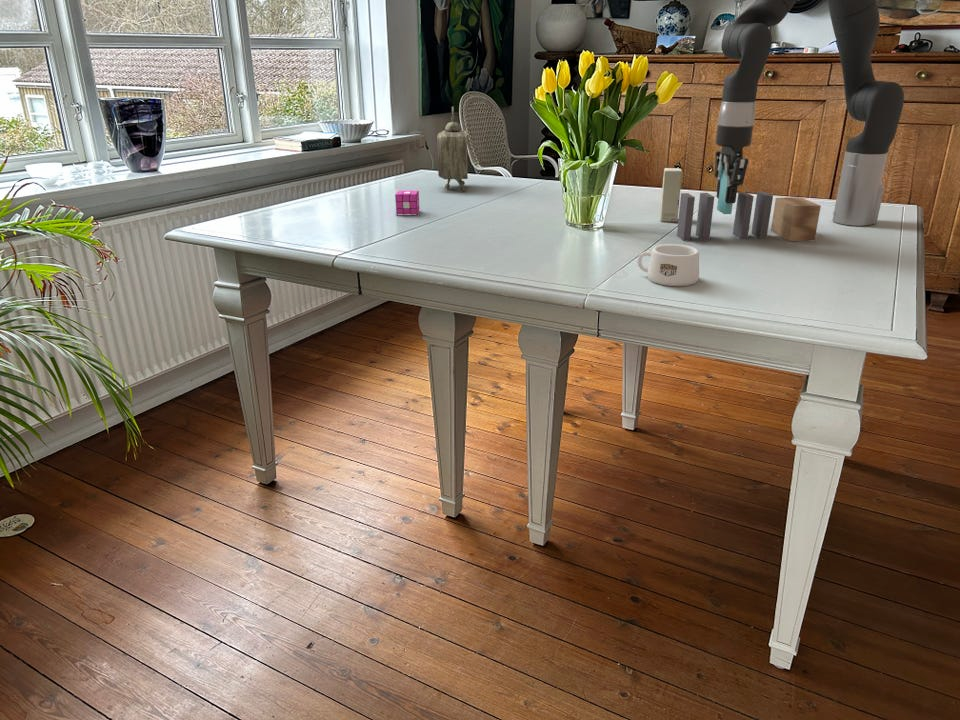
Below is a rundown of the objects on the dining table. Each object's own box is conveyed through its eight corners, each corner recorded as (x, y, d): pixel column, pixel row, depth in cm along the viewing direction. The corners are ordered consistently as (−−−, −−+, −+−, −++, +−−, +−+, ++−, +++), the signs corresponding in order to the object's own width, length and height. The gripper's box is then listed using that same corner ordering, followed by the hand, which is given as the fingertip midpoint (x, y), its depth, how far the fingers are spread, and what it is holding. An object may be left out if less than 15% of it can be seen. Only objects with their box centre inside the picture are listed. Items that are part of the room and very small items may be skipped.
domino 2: (702, 235, 170) (706, 192, 166) (709, 240, 165) (714, 196, 161) (695, 235, 170) (700, 192, 166) (702, 240, 165) (707, 197, 161)
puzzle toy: (417, 215, 193) (416, 194, 191) (396, 215, 193) (395, 194, 191) (419, 211, 198) (418, 190, 196) (399, 211, 199) (398, 190, 196)
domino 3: (723, 209, 168) (729, 165, 164) (731, 214, 163) (737, 169, 159) (716, 209, 167) (722, 166, 163) (724, 214, 163) (730, 169, 159)
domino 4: (739, 234, 170) (745, 191, 166) (747, 239, 166) (753, 196, 162) (732, 234, 170) (738, 192, 166) (740, 239, 166) (746, 196, 162)
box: (677, 222, 182) (682, 171, 177) (659, 221, 183) (664, 170, 178) (676, 218, 187) (681, 167, 182) (659, 217, 188) (663, 167, 182)
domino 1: (683, 235, 170) (687, 193, 166) (690, 240, 165) (694, 197, 161) (676, 235, 170) (681, 193, 166) (683, 240, 165) (687, 197, 161)
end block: (794, 230, 173) (800, 197, 170) (814, 240, 164) (820, 205, 161) (770, 230, 173) (775, 197, 170) (788, 241, 164) (794, 206, 160)
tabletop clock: (467, 193, 222) (466, 108, 212) (438, 193, 222) (435, 108, 212) (467, 184, 235) (466, 104, 225) (440, 185, 235) (437, 104, 225)
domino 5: (757, 233, 170) (764, 191, 166) (766, 238, 166) (773, 195, 162) (751, 233, 170) (757, 191, 166) (759, 239, 166) (766, 195, 162)
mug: (703, 276, 140) (707, 246, 137) (691, 290, 132) (695, 259, 130) (643, 269, 145) (645, 239, 143) (628, 281, 137) (631, 251, 135)
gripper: (765, 126, 151) (753, 206, 158) (740, 120, 164) (730, 194, 171) (730, 126, 151) (720, 207, 158) (707, 120, 164) (699, 195, 171)
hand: (725, 200), depth 164 cm, fingers closed on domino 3, 5 cm apart
